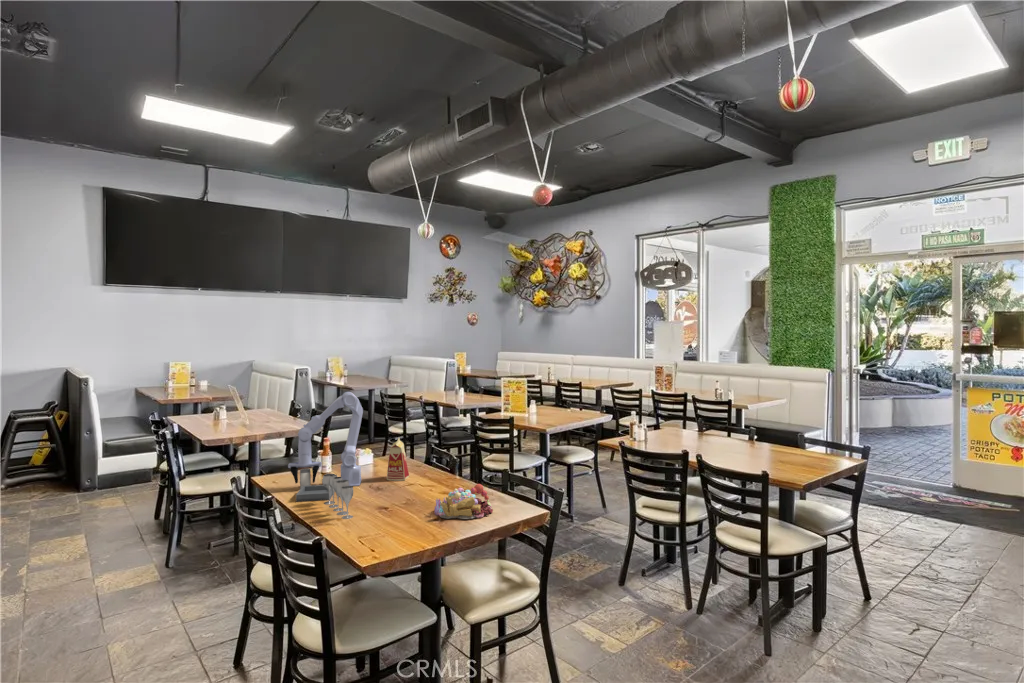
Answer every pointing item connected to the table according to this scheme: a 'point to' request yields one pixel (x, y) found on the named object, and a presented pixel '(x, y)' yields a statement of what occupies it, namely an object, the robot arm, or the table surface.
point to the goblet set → (338, 492)
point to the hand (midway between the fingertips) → (305, 482)
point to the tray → (313, 493)
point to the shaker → (305, 477)
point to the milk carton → (397, 463)
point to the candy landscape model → (464, 504)
